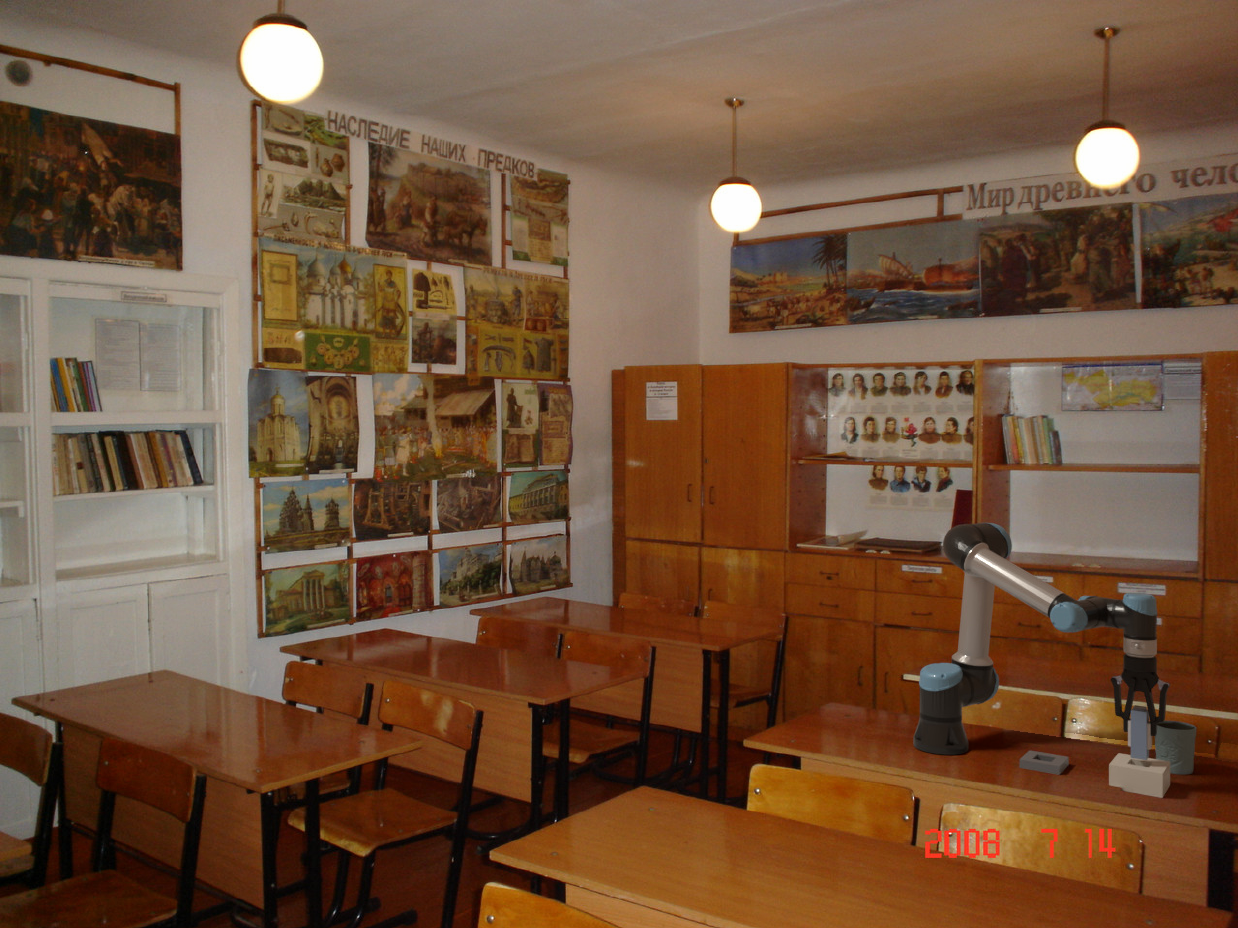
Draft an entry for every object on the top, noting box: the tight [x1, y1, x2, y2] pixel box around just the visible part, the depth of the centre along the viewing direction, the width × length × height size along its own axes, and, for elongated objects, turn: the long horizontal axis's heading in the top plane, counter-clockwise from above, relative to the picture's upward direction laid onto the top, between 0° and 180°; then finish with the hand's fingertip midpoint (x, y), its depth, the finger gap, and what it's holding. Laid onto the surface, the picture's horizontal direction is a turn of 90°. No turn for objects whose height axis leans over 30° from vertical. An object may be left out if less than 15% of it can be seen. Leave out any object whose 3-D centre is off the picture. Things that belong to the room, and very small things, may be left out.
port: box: [1108, 752, 1171, 799], centre depth 250 cm, size 12×12×6 cm
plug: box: [1130, 704, 1150, 760], centre depth 250 cm, size 4×4×13 cm
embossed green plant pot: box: [1154, 719, 1198, 776], centre depth 264 cm, size 10×10×12 cm
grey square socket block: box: [1019, 750, 1070, 775], centre depth 264 cm, size 10×10×3 cm
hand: (1139, 746), depth 250 cm, fingers closed on plug, 4 cm apart
